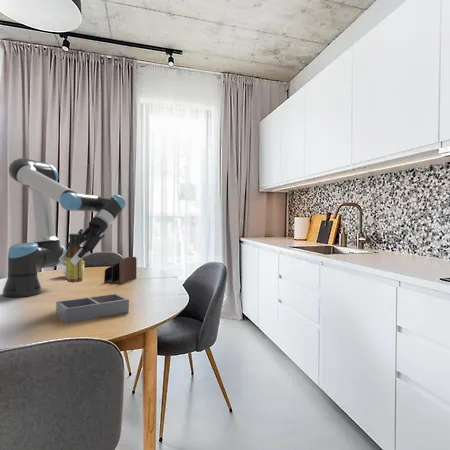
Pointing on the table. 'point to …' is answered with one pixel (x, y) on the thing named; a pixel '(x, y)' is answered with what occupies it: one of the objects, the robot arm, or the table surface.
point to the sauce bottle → (72, 271)
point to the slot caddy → (91, 307)
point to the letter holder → (121, 271)
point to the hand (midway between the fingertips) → (66, 262)
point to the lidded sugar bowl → (65, 267)
